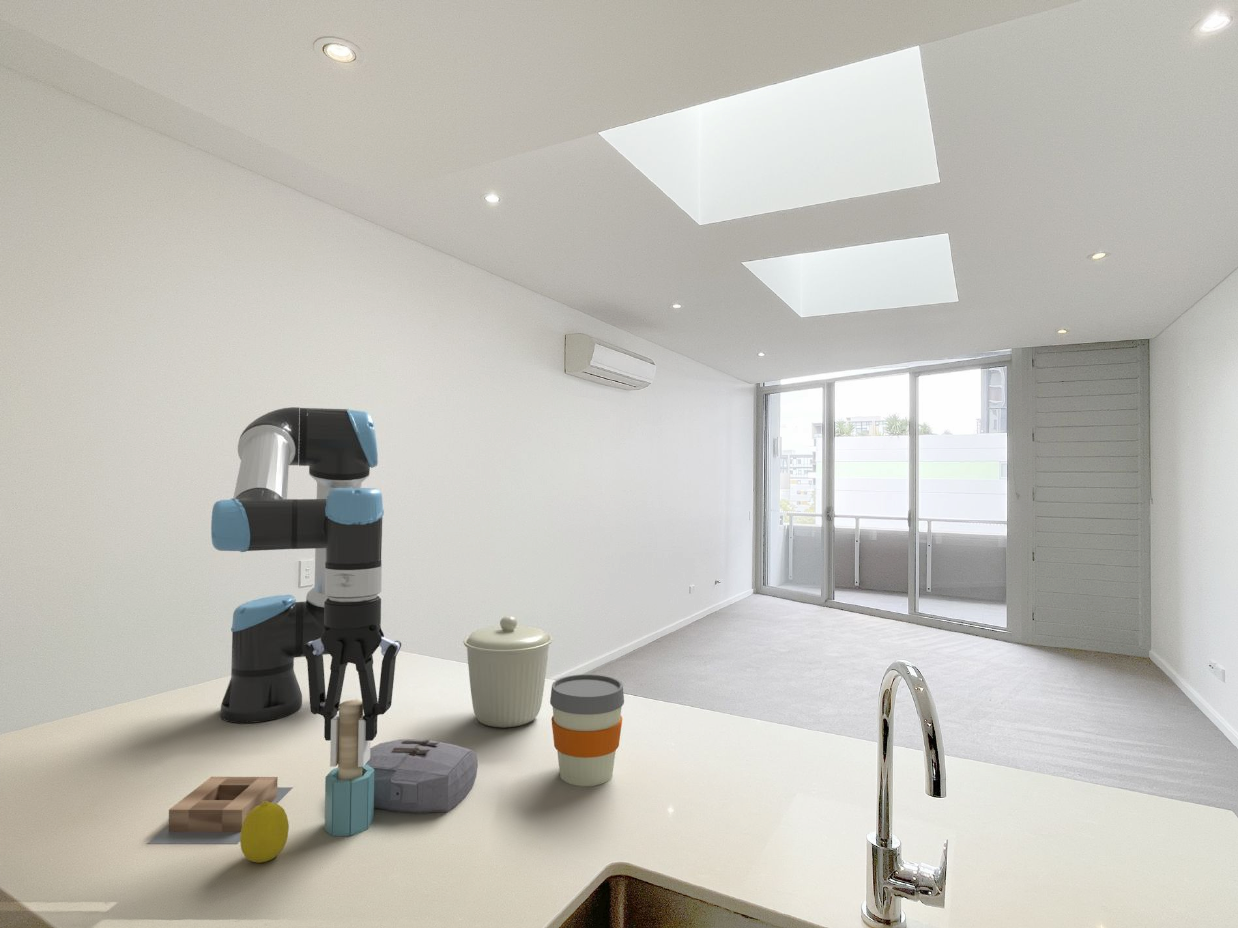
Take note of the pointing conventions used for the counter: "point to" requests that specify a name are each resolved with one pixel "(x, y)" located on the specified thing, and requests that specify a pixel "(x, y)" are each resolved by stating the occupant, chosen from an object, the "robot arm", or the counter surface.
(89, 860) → the counter surface
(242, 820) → the frame
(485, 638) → the canister
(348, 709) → the dowel
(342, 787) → the cup
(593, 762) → the reusable coffee cup
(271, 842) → the lemon
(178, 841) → the tray
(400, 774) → the grey rounded bag
